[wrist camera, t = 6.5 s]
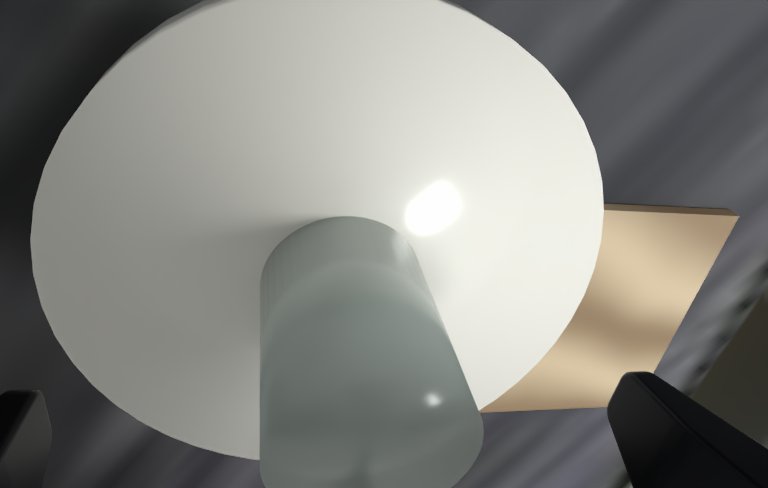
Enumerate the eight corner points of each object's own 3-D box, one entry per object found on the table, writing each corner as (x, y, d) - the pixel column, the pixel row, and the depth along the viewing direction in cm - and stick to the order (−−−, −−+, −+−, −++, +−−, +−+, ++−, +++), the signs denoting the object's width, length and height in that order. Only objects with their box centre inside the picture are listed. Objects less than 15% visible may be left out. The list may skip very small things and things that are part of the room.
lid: (497, 418, 16) (579, 610, 12) (81, 428, 14) (1, 679, 10) (659, 27, 11) (918, 130, 7) (6, -87, 8) (-277, -39, 4)
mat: (629, 397, 32) (635, 405, 31) (423, 405, 29) (426, 414, 28) (730, 209, 25) (739, 216, 25) (478, 197, 22) (483, 204, 22)
